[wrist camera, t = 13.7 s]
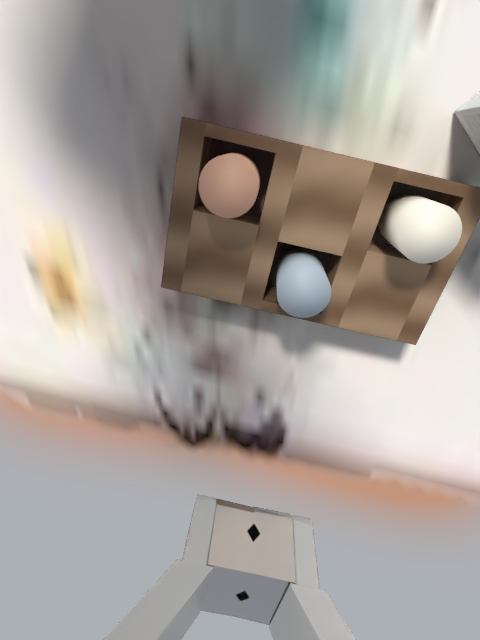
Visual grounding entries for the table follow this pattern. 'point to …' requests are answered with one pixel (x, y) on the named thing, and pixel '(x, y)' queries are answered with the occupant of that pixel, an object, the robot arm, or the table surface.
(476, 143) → the supplement box
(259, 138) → the tray
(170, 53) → the table surface
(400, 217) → the cream egg-shaped piece
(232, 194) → the tan rounded short cylinder
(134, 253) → the table surface
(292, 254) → the key slate
